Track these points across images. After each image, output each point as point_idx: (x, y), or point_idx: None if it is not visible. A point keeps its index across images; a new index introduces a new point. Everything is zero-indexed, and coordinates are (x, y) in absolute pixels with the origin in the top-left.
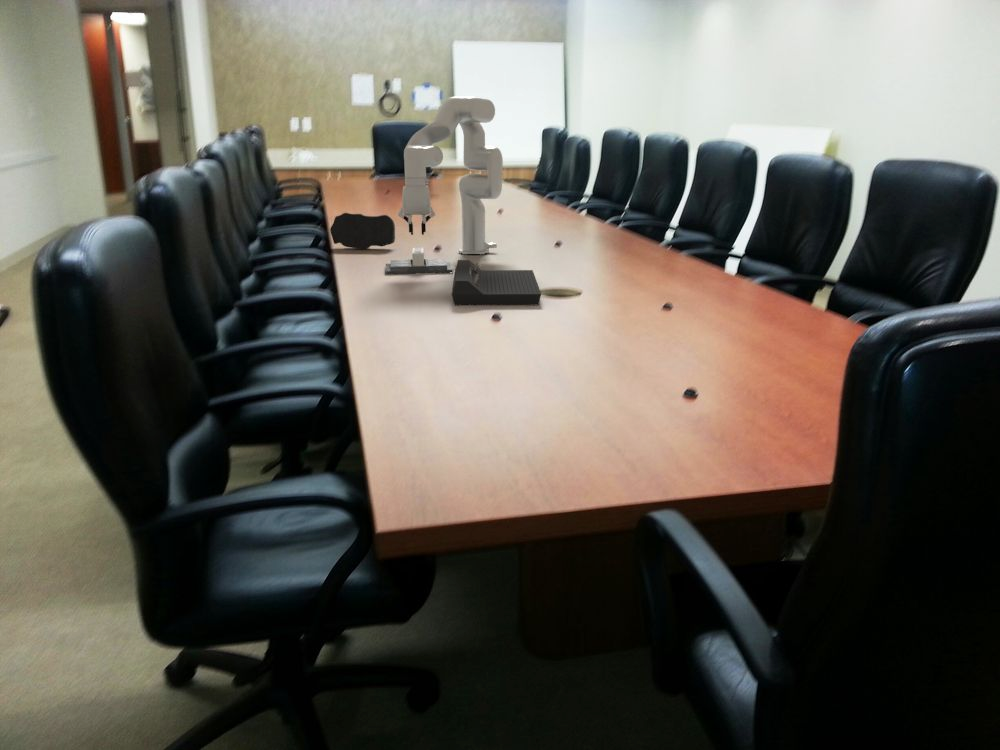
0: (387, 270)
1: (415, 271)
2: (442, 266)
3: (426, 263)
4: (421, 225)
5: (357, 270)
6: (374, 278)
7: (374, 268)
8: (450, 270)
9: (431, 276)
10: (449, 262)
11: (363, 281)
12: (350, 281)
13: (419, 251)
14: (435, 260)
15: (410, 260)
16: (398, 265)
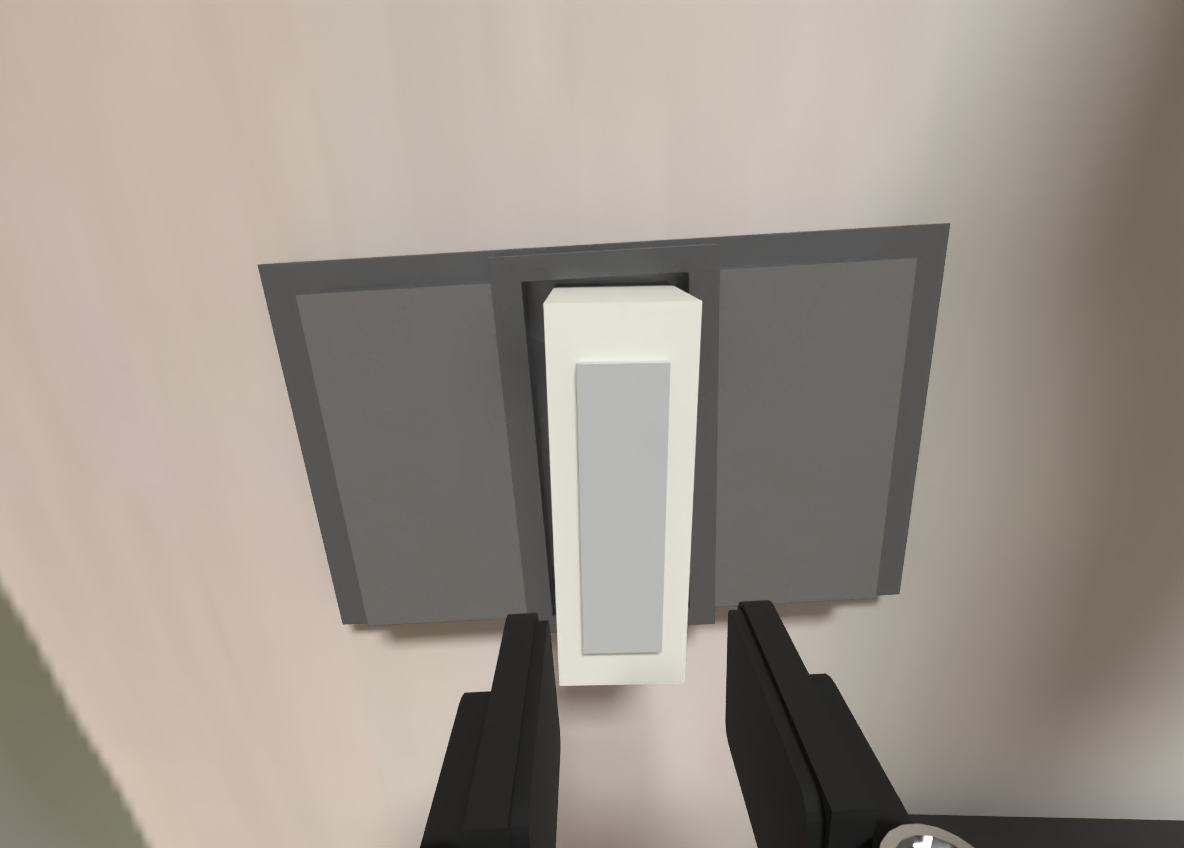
0: (352, 591)
1: None
2: (829, 594)
3: (693, 507)
4: (782, 805)
5: (53, 421)
6: (300, 716)
7: (181, 333)
8: (879, 590)
9: (709, 677)
10: (946, 235)
11: (250, 791)
12: (162, 788)
13: (641, 646)
14: (799, 351)
15: (525, 331)
16: (433, 584)
